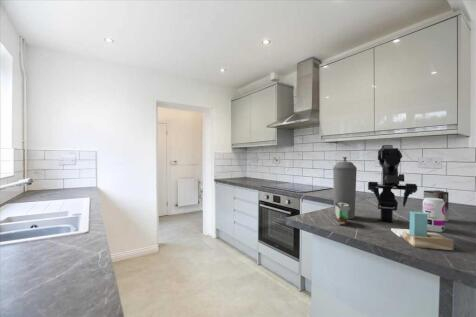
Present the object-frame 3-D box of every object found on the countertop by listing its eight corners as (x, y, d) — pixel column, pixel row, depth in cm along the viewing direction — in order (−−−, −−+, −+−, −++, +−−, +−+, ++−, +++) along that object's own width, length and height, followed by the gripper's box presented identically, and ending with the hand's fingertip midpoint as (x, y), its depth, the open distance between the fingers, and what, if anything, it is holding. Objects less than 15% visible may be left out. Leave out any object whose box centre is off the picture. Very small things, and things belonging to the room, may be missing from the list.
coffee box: (438, 218, 132) (438, 190, 131) (448, 221, 125) (449, 192, 125) (422, 218, 131) (423, 190, 131) (432, 221, 125) (433, 192, 125)
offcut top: (424, 236, 98) (424, 232, 98) (435, 237, 97) (435, 232, 97) (433, 242, 92) (433, 237, 92) (445, 243, 91) (445, 238, 90)
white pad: (391, 230, 111) (391, 228, 111) (412, 231, 109) (412, 229, 109) (399, 237, 102) (399, 234, 102) (423, 238, 100) (423, 236, 100)
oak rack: (402, 237, 101) (403, 228, 101) (437, 240, 98) (437, 231, 98) (414, 247, 91) (414, 236, 91) (453, 250, 88) (453, 239, 88)
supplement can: (444, 229, 112) (445, 198, 112) (444, 233, 106) (444, 201, 106) (423, 225, 118) (423, 196, 118) (421, 229, 112) (422, 198, 112)
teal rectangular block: (409, 240, 98) (409, 211, 98) (421, 241, 97) (422, 211, 97) (414, 244, 94) (414, 213, 94) (426, 245, 93) (427, 214, 93)
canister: (335, 213, 143) (335, 156, 142) (358, 216, 136) (358, 156, 135) (329, 217, 133) (330, 157, 132) (354, 221, 125) (355, 157, 125)
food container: (352, 226, 116) (352, 207, 116) (339, 226, 118) (339, 206, 117) (346, 219, 128) (346, 202, 128) (334, 219, 130) (334, 201, 129)
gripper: (368, 166, 107) (368, 199, 102) (418, 167, 98) (421, 204, 93) (368, 173, 116) (367, 204, 111) (414, 175, 107) (416, 209, 102)
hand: (391, 205), depth 104 cm, fingers open, 9 cm apart
